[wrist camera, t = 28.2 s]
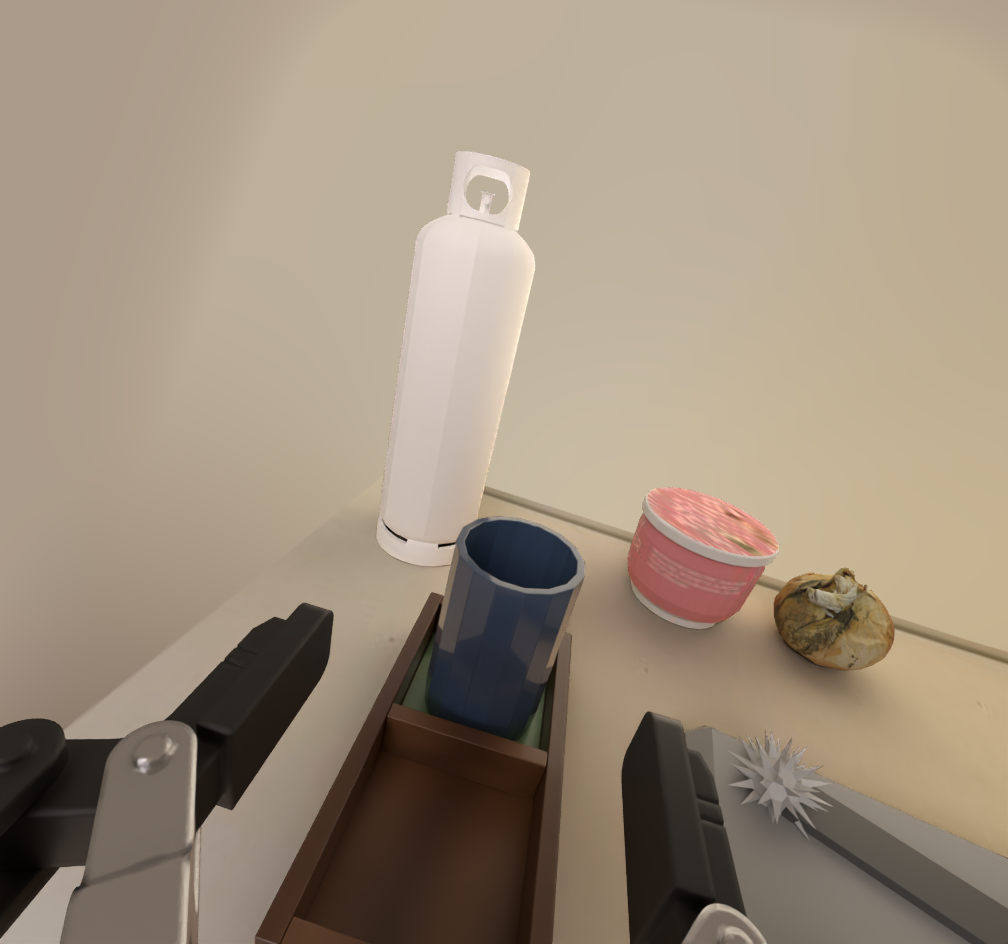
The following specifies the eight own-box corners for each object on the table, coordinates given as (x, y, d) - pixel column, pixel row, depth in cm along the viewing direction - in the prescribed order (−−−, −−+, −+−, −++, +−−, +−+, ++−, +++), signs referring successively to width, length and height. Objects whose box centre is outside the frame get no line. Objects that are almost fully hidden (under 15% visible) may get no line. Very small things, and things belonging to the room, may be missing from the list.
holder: (252, 984, 16) (253, 937, 15) (423, 628, 32) (431, 591, 31) (521, 1083, 15) (546, 1043, 14) (558, 670, 31) (572, 634, 30)
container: (685, 658, 35) (730, 568, 32) (590, 570, 43) (619, 491, 39) (760, 623, 41) (805, 545, 38) (665, 552, 49) (696, 482, 45)
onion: (880, 708, 35) (946, 623, 32) (764, 659, 37) (815, 575, 34) (853, 643, 42) (905, 568, 38) (756, 604, 44) (797, 530, 40)
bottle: (366, 557, 37) (420, 131, 26) (385, 506, 45) (434, 156, 34) (469, 573, 38) (565, 170, 27) (472, 521, 46) (548, 186, 35)
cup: (407, 728, 25) (440, 568, 21) (443, 643, 30) (474, 504, 26) (525, 766, 24) (583, 611, 20) (539, 673, 30) (586, 536, 26)
